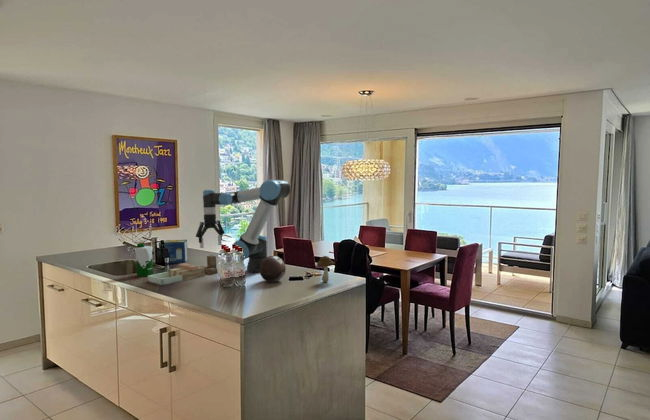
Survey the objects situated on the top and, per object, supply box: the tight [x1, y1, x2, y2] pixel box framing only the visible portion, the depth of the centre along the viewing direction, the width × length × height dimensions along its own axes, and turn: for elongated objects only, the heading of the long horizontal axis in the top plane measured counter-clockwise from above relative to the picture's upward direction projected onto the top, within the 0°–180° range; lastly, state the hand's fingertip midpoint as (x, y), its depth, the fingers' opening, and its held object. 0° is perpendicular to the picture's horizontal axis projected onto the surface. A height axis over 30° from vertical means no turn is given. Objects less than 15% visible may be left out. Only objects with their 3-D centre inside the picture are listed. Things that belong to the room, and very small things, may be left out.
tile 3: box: [178, 262, 188, 268], centre depth 261 cm, size 4×4×2 cm
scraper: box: [198, 255, 218, 276], centre depth 269 cm, size 16×7×10 cm, turn 50°
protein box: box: [163, 239, 189, 264], centre depth 305 cm, size 10×15×16 cm
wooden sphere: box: [259, 255, 287, 283], centre depth 240 cm, size 15×15×15 cm
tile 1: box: [188, 264, 199, 270], centre depth 254 cm, size 4×4×2 cm
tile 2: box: [183, 263, 193, 269], centre depth 258 cm, size 4×4×2 cm
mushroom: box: [316, 255, 335, 283], centre depth 238 cm, size 9×11×15 cm
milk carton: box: [134, 243, 154, 278], centre depth 262 cm, size 9×9×20 cm
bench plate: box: [168, 266, 206, 282], centre depth 257 cm, size 15×16×5 cm
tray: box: [147, 271, 184, 287], centre depth 246 cm, size 16×13×4 cm
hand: (210, 246), depth 270 cm, fingers open, 13 cm apart
